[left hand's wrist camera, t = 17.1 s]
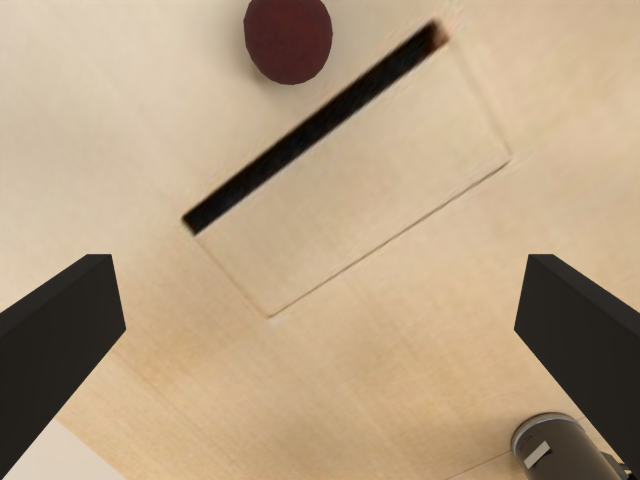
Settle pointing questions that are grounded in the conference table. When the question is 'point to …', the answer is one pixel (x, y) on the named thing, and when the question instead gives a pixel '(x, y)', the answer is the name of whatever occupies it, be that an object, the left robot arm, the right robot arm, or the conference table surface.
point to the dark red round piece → (288, 38)
